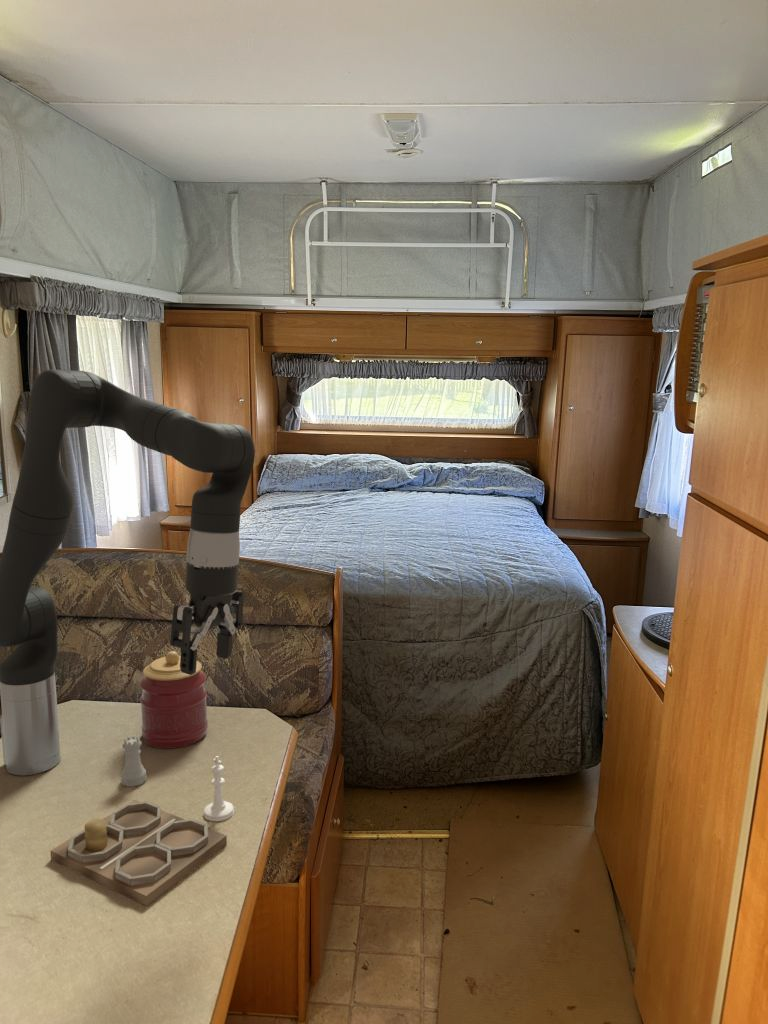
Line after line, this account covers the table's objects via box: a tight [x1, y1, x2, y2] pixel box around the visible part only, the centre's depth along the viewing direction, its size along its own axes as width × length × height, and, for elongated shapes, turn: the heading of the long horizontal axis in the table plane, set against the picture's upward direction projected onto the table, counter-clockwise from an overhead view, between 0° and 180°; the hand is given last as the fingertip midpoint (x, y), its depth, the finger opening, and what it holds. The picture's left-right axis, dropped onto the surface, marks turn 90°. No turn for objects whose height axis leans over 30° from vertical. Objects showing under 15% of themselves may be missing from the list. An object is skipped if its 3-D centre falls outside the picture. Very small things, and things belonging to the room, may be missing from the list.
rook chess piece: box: [120, 735, 148, 788], centre depth 132 cm, size 4×4×8 cm
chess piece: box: [203, 755, 235, 822], centre depth 122 cm, size 5×5×10 cm
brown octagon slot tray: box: [49, 799, 228, 907], centre depth 112 cm, size 20×16×5 cm
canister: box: [139, 650, 209, 749], centre depth 149 cm, size 13×13×18 cm
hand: (206, 664), depth 111 cm, fingers open, 8 cm apart
